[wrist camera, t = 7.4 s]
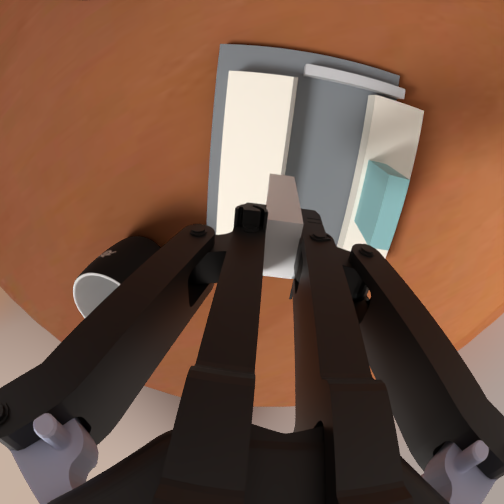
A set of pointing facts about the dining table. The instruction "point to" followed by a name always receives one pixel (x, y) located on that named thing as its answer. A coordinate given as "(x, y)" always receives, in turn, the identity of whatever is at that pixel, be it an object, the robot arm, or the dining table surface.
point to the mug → (110, 271)
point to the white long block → (381, 173)
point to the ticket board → (288, 129)
